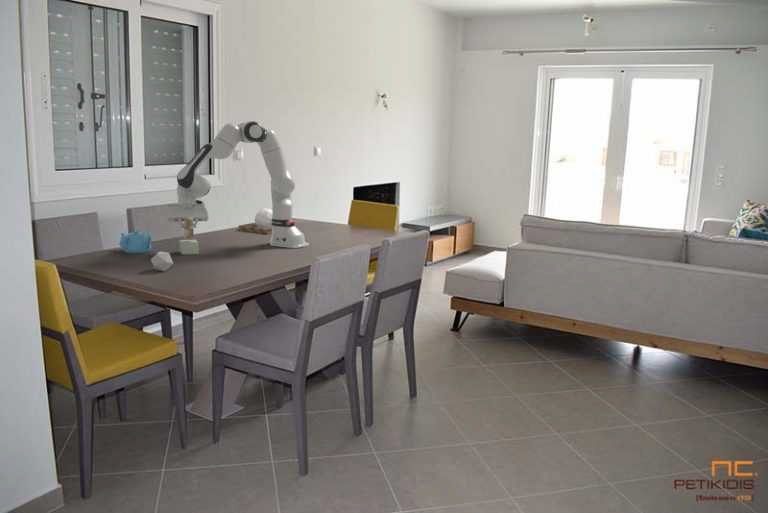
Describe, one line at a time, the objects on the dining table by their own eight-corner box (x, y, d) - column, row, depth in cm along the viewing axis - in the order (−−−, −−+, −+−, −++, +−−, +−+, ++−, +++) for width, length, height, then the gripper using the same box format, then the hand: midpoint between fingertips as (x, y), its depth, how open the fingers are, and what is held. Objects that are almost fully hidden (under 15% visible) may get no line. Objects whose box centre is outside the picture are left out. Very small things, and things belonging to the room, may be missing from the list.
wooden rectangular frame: (293, 229, 411) (293, 225, 410) (268, 234, 391) (268, 229, 390) (263, 225, 423) (263, 221, 422) (238, 230, 402) (238, 225, 402)
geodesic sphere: (252, 218, 413) (254, 202, 403) (275, 217, 418) (277, 202, 407) (254, 235, 404) (256, 219, 394) (277, 234, 408) (279, 219, 398)
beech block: (193, 236, 332) (192, 217, 330) (193, 238, 327) (193, 218, 325) (183, 236, 330) (183, 217, 328) (184, 238, 326) (183, 218, 324)
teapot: (121, 248, 334) (120, 228, 332) (152, 248, 338) (152, 227, 336) (119, 254, 320) (118, 233, 317) (151, 253, 324) (151, 232, 322)
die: (177, 271, 293) (172, 251, 296) (169, 265, 284) (164, 245, 287) (159, 277, 292) (154, 257, 296) (151, 271, 284) (146, 251, 287)
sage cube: (195, 251, 336) (195, 239, 334) (198, 253, 329) (198, 242, 327) (179, 251, 332) (179, 240, 331) (182, 254, 325) (182, 243, 324)
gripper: (165, 201, 328) (167, 223, 321) (207, 201, 335) (209, 223, 328) (165, 209, 333) (166, 231, 326) (206, 209, 340) (208, 230, 333)
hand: (188, 227), depth 327 cm, fingers closed on beech block, 4 cm apart
